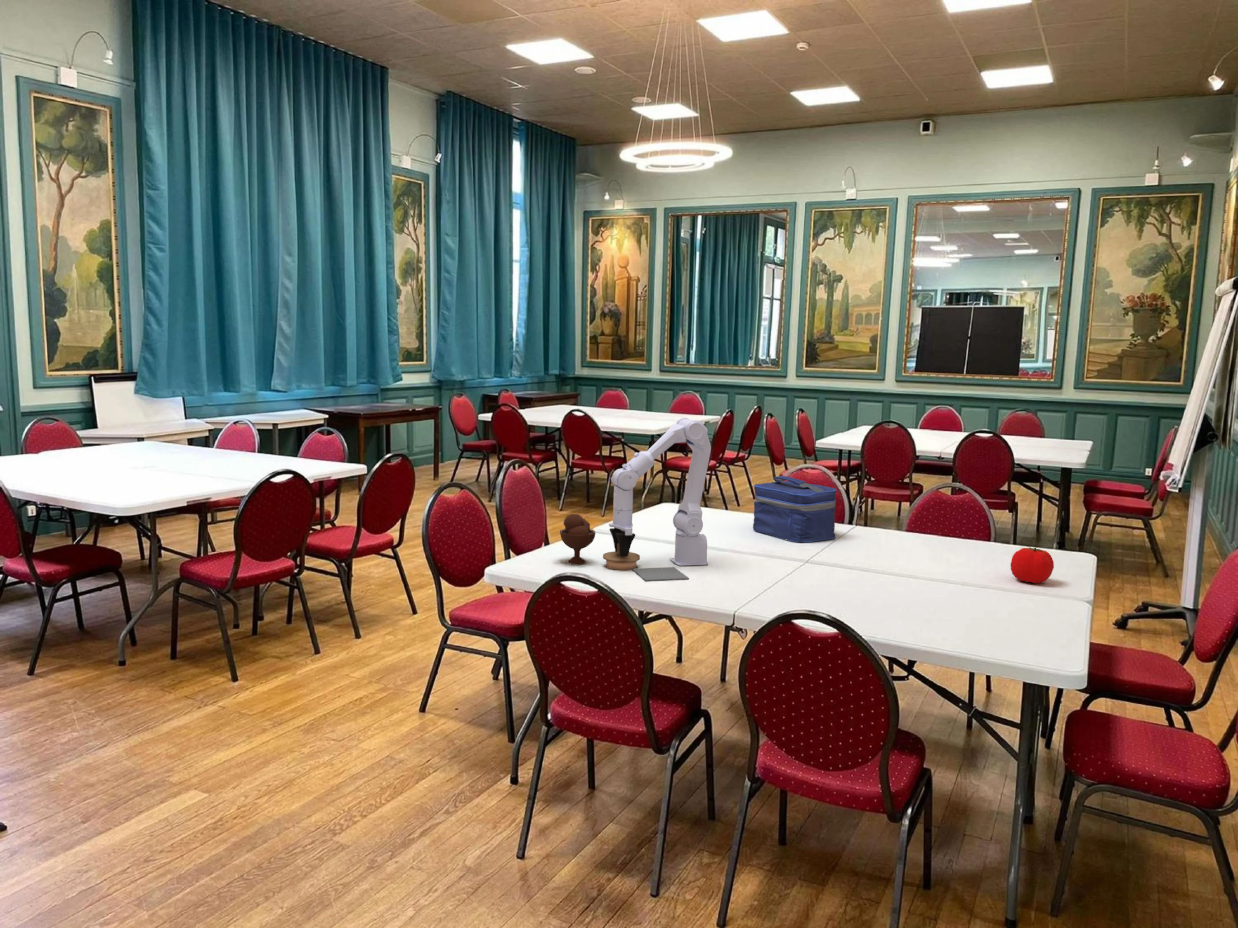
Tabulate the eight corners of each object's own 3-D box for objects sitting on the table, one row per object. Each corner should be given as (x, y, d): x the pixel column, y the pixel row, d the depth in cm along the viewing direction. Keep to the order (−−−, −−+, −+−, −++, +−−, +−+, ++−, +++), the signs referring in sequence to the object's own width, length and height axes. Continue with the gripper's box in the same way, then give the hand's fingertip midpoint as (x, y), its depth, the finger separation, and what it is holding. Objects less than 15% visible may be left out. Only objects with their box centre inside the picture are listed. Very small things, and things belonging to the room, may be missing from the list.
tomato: (1025, 587, 262) (1028, 552, 260) (1001, 577, 273) (1003, 543, 272) (1061, 586, 264) (1065, 551, 263) (1036, 576, 275) (1039, 542, 274)
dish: (631, 562, 278) (631, 554, 278) (639, 569, 270) (640, 561, 269) (602, 563, 276) (603, 555, 276) (610, 570, 267) (610, 562, 267)
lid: (633, 553, 279) (634, 539, 279) (644, 561, 269) (644, 547, 268) (599, 554, 276) (599, 540, 276) (608, 563, 266) (608, 548, 265)
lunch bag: (740, 528, 335) (742, 473, 332) (781, 523, 347) (784, 470, 344) (801, 545, 310) (804, 485, 307) (844, 539, 321) (847, 481, 319)
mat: (674, 568, 272) (674, 567, 272) (689, 579, 260) (689, 578, 260) (632, 570, 269) (632, 568, 269) (645, 581, 256) (645, 579, 256)
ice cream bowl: (590, 567, 270) (591, 517, 268) (554, 564, 272) (555, 515, 270) (598, 559, 280) (599, 511, 278) (563, 557, 282) (564, 509, 281)
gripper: (603, 505, 276) (602, 549, 278) (616, 514, 263) (615, 560, 264) (626, 504, 278) (624, 548, 280) (639, 513, 264) (638, 559, 266)
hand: (621, 554), depth 272 cm, fingers open, 5 cm apart
